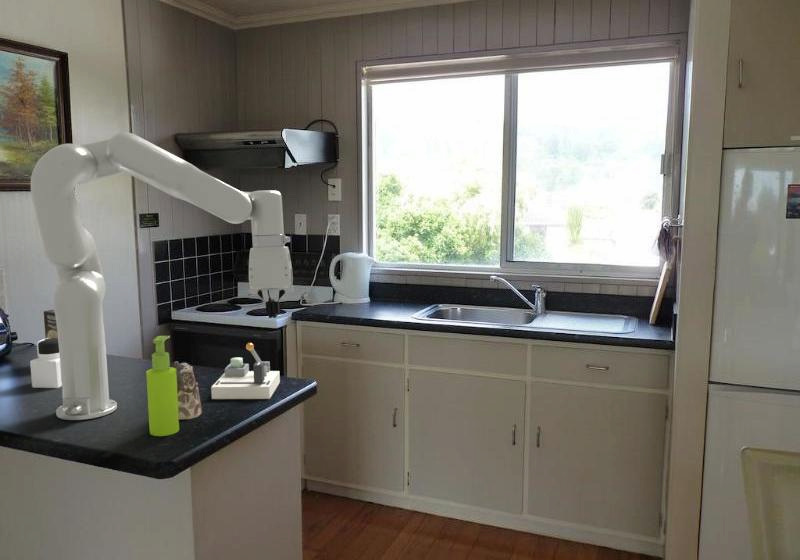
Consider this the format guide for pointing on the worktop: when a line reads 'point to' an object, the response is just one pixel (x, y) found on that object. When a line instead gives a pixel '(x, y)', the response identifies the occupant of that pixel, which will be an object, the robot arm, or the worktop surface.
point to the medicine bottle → (46, 365)
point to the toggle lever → (253, 352)
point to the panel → (245, 384)
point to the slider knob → (259, 372)
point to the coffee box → (50, 324)
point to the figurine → (187, 392)
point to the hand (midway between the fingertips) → (273, 316)
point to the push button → (237, 362)
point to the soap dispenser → (162, 393)
